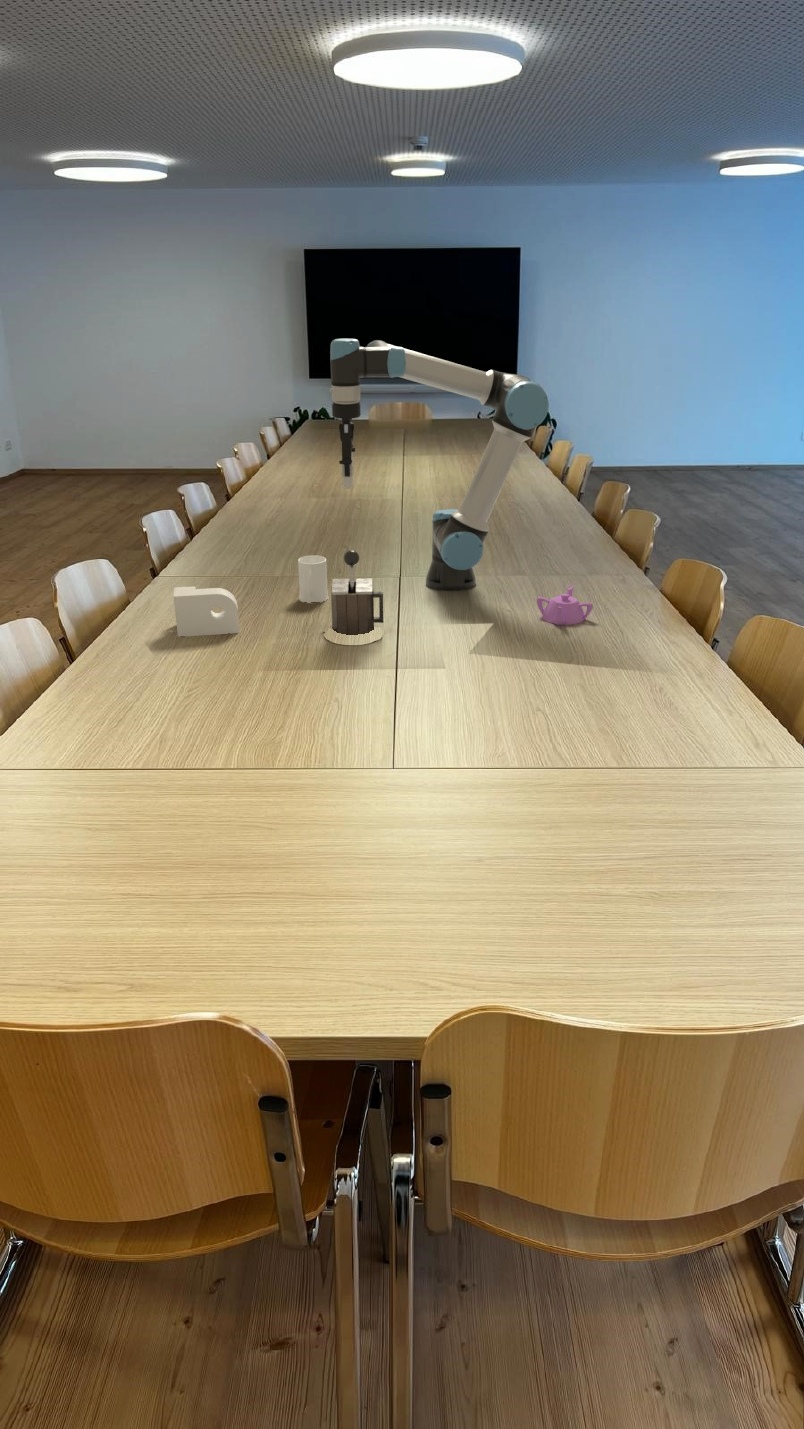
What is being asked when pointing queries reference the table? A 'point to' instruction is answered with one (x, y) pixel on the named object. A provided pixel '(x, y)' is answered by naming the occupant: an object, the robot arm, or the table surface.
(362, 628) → the wooden tankard
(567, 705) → the table surface
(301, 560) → the mug
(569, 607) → the teapot
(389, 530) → the table surface
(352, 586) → the plunger
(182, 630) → the tape dispenser
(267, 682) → the table surface
